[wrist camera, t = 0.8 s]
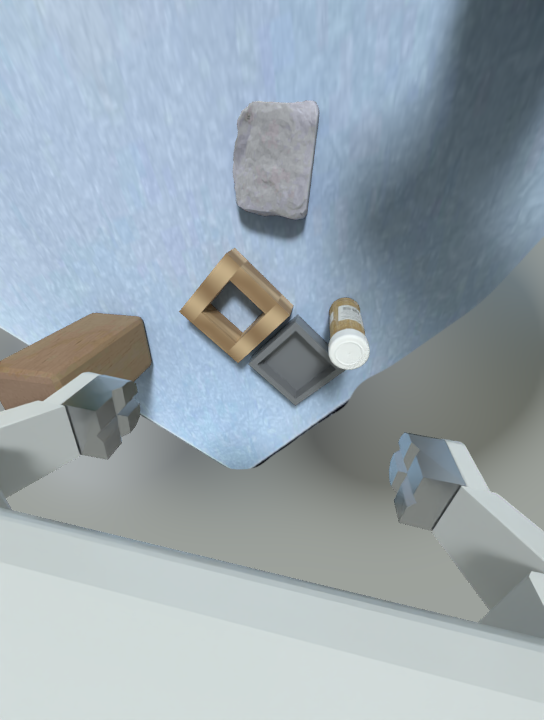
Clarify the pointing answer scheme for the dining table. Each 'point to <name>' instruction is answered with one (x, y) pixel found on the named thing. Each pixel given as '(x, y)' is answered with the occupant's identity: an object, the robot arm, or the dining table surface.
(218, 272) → the oak bore block
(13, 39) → the dining table surface
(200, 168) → the dining table surface
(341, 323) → the sprinkles bottle
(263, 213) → the stone block
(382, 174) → the dining table surface
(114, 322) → the wooden block
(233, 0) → the dining table surface
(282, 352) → the tray
